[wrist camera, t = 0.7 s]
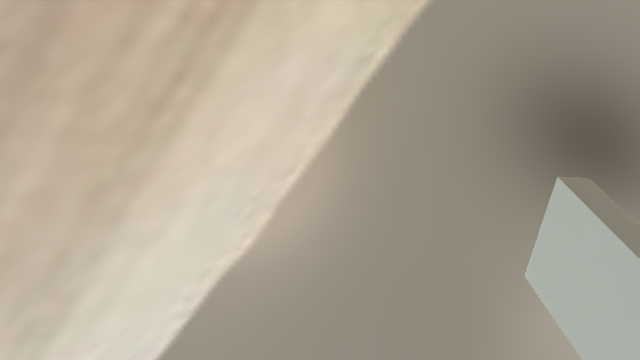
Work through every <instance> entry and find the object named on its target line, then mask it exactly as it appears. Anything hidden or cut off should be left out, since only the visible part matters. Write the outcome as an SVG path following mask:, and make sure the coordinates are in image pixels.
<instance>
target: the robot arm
mask: <svg viewBox="0 0 640 360" xmlns="http://www.w3.org/2000/svg"><path fill="white" fill-rule="evenodd" d="M525 277H526V279H527V280H528V282H529V283H530V284H531V286H532V287H533V289H534V290H535V292H536V293H537V295H538V296H539V298H540V299H541V300H542V302H543V304H544V305H545V306H546V308H547V309H548V310H549V312H550V314H551V315H552V317H553V318H554V320H555V321H556V322H557V324H558V325H559V327H560V328H561V330H562V331H563V333H564V334H565V335H566V337H567V338H568V340H569V342H570V343H571V344H572V346H573V347H574V349H575V350H576V352H577V353H578V355H579V356H580V358H581V359H582V360H640V225H639V224H638V223H637V222H635V220H633V219H632V218H631V217H630V216H629V215H628V214H627V213H626V212H625V211H624V210H623V209H622V208H620V207H619V206H618V205H617V204H616V203H615V202H614V201H613V200H612V199H611V198H610V197H608V196H607V195H606V194H605V193H604V192H603V191H602V190H601V189H600V188H599V187H598V186H597V185H595V184H594V183H593V182H592V181H591V180H590V179H589V178H572V177H557V180H556V183H555V187H554V189H553V192H552V195H551V198H550V201H549V204H548V207H547V210H546V213H545V216H544V219H543V222H542V225H541V228H540V231H539V234H538V237H537V240H536V243H535V246H534V249H533V253H532V255H531V258H530V261H529V264H528V267H527V270H526V273H525Z"/></svg>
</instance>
